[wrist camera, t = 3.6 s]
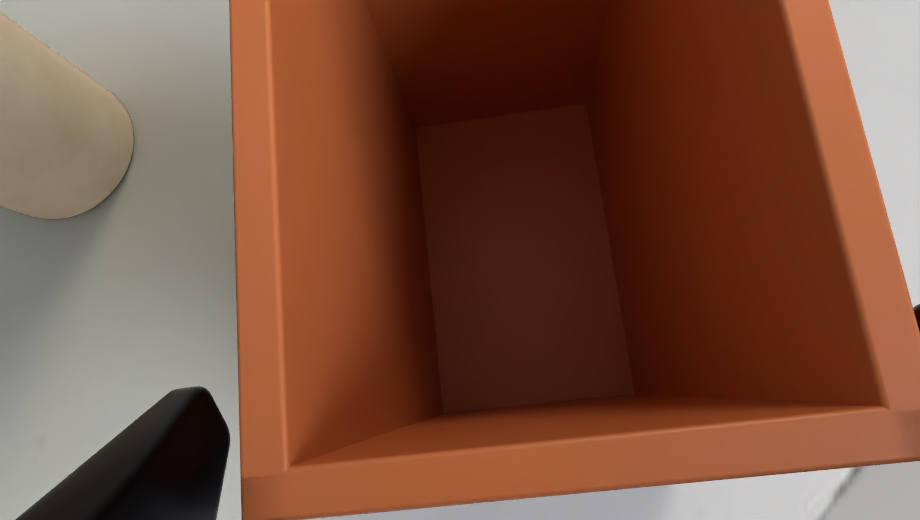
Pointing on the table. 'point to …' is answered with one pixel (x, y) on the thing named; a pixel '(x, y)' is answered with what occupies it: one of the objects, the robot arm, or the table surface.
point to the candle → (55, 131)
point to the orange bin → (555, 252)
